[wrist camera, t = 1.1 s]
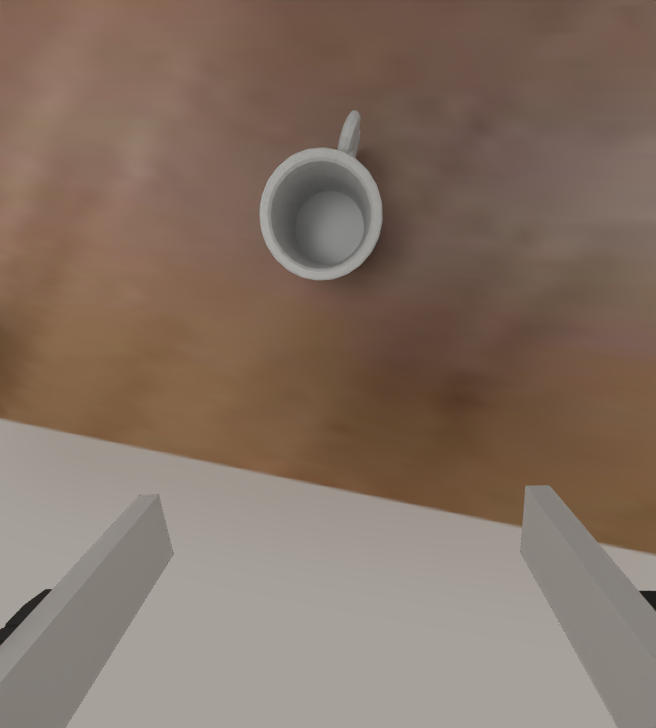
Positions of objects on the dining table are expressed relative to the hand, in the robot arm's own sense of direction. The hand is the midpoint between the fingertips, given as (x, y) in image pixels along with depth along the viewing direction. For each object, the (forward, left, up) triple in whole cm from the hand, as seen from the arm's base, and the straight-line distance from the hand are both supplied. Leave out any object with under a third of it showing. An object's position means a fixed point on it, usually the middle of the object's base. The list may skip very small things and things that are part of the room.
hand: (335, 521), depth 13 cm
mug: (-14, -1, -27) cm, 30 cm away
